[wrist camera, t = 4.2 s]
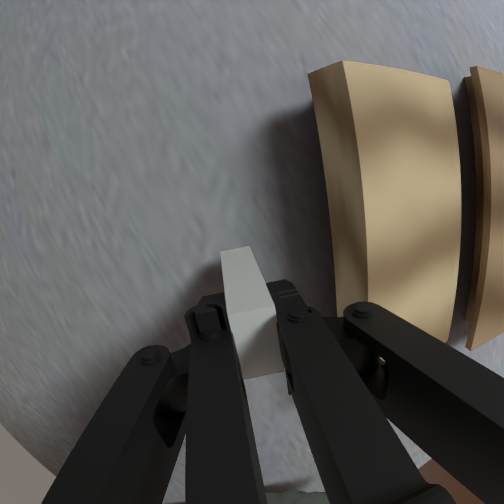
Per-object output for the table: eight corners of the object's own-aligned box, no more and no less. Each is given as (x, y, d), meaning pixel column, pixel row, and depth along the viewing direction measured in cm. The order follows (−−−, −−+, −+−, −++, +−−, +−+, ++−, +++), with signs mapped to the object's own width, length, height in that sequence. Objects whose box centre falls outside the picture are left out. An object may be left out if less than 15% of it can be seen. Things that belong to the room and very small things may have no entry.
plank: (293, 85, 15) (325, 60, 10) (425, 85, 15) (478, 75, 11) (326, 361, 21) (352, 409, 16) (431, 325, 21) (467, 358, 17)
